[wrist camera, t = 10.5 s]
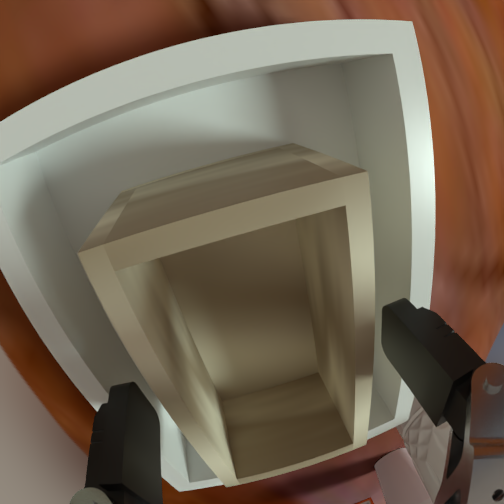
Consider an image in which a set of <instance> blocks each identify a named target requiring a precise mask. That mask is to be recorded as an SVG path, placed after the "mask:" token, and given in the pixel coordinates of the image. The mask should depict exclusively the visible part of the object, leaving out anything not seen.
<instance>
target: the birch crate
mask: <svg viewBox="0 0 504 504" xmlns="http://www.w3.org/2000/svg"><path fill="white" fill-rule="evenodd" d="M77 254H78V256H79V258H80V261H81V263H82V265H83V267H84V269H85V271H86V273H87V276H88V278H89V280H90V282H91V284H92V286H93V288H94V290H95V292H96V294H97V296H98V298H99V300H100V302H101V304H102V306H103V308H104V309H105V311H106V313H107V315H108V317H109V319H110V321H111V322H112V324H113V326H114V328H115V330H116V331H117V333H118V335H119V337H120V339H121V340H122V342H123V344H124V345H125V347H126V349H127V351H128V352H129V354H130V356H131V357H132V359H133V361H134V362H135V364H136V365H137V367H138V369H139V370H140V372H141V373H142V375H143V377H144V378H145V380H146V381H147V383H148V384H149V386H150V387H151V389H152V390H153V392H154V393H155V395H156V396H157V398H158V399H159V401H160V402H161V404H162V405H163V407H164V408H165V410H166V411H167V412H168V414H169V415H170V417H171V418H172V419H173V421H174V422H175V424H176V425H177V426H178V428H179V429H180V430H181V432H182V433H183V434H184V436H185V437H186V438H187V440H188V441H189V442H190V444H191V445H192V446H193V447H194V449H195V450H196V451H197V453H198V454H199V455H200V456H201V458H202V459H203V460H204V461H205V463H206V464H207V465H208V466H209V467H210V469H211V470H212V471H213V472H214V473H215V475H216V476H217V477H218V478H219V479H220V480H221V482H222V483H223V484H224V485H225V486H226V487H230V486H235V485H239V484H244V483H248V482H253V481H257V480H261V479H265V478H269V477H273V476H276V475H280V474H283V473H287V472H290V471H294V470H297V469H300V468H303V467H307V466H310V465H313V464H316V463H319V462H322V461H324V460H327V459H330V458H333V457H335V456H338V455H341V454H343V453H346V452H349V451H351V450H354V449H356V448H358V447H361V446H363V445H366V443H367V435H368V426H369V416H370V406H371V394H372V381H373V364H374V341H375V264H374V240H373V223H372V209H371V197H370V186H369V176H368V171H366V170H364V169H361V168H359V167H356V166H354V165H351V164H349V163H346V162H344V161H341V160H339V159H336V158H333V157H331V156H328V155H325V154H323V153H320V152H317V151H315V150H312V149H309V148H306V147H303V146H300V145H298V144H295V143H291V144H287V145H282V146H278V147H274V148H269V149H265V150H261V151H257V152H253V153H249V154H245V155H241V156H237V157H233V158H229V159H225V160H221V161H218V162H214V163H210V164H207V165H203V166H200V167H196V168H193V169H189V170H186V171H183V172H179V173H176V174H173V175H169V176H166V177H163V178H160V179H156V180H153V181H150V182H147V183H144V184H141V185H138V186H135V187H132V188H129V189H126V190H123V191H121V193H120V194H119V195H118V197H117V198H116V199H115V201H114V202H113V203H112V205H111V206H110V207H109V209H108V210H107V211H106V213H105V214H104V215H103V217H102V218H101V220H100V221H99V222H98V224H97V225H96V227H95V228H94V229H93V231H92V232H91V234H90V235H89V237H88V238H87V240H86V241H85V242H84V244H83V245H82V247H81V248H80V250H79V251H78V253H77Z"/></svg>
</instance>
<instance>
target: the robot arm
mask: <svg viewBox="0 0 504 504" xmlns="http://www.w3.org/2000/svg"><path fill="white" fill-rule="evenodd" d="M381 344H382V348H383V351H384V353H385V355H386V357H387V358H388V360H389V361H390V363H391V364H392V365H393V367H394V368H395V369H396V371H397V372H398V374H399V375H400V376H401V378H402V379H403V381H404V382H405V383H406V385H407V386H408V388H409V389H410V390H411V392H412V393H413V395H414V396H415V397H416V399H417V400H418V402H419V403H420V405H421V406H422V407H423V409H424V410H425V412H426V413H427V415H428V416H429V418H430V419H431V420H432V422H433V423H434V425H435V426H436V427H438V426H440V425H441V424H443V423H445V422H446V421H447V422H448V423H449V425H450V426H451V428H450V432H449V440H448V448H447V455H446V461H445V467H444V473H443V478H442V483H441V486H440V489H439V491H438V493H437V496H436V499H435V502H434V504H504V365H501V364H498V363H485V362H484V361H483V360H482V359H481V358H480V357H479V356H478V355H477V353H476V352H475V351H474V350H473V349H472V348H471V347H470V346H469V345H468V344H467V343H466V342H465V341H464V340H463V339H462V338H461V337H460V336H459V335H458V334H457V333H455V332H454V330H453V329H452V328H451V327H450V326H449V325H447V324H446V322H445V321H444V320H443V319H442V318H441V317H440V316H439V315H438V314H437V313H435V312H433V311H431V310H429V309H426V308H424V307H421V308H418V309H417V308H416V307H415V306H414V305H413V304H412V303H411V302H410V301H409V300H408V299H406V298H402V299H399V300H397V301H394V302H392V303H390V304H387V305H385V306H383V308H382V328H381ZM92 431H93V433H92V436H91V444H90V450H89V457H88V466H87V475H86V483H85V488H84V489H81V490H80V491H78V492H77V493H76V494H75V495H74V496H73V497H72V499H71V501H70V504H163V499H162V480H161V448H160V421H159V418H158V415H157V412H156V410H155V409H154V407H153V406H152V405H151V403H150V402H149V400H148V399H147V398H146V396H145V395H144V393H143V392H142V391H141V389H140V388H139V386H138V385H137V384H136V383H135V382H128V383H123V384H118V385H113V386H111V388H110V391H109V397H108V403H104V404H102V405H101V406H100V408H99V410H98V412H97V413H96V415H95V417H94V423H93V430H92Z"/></svg>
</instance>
